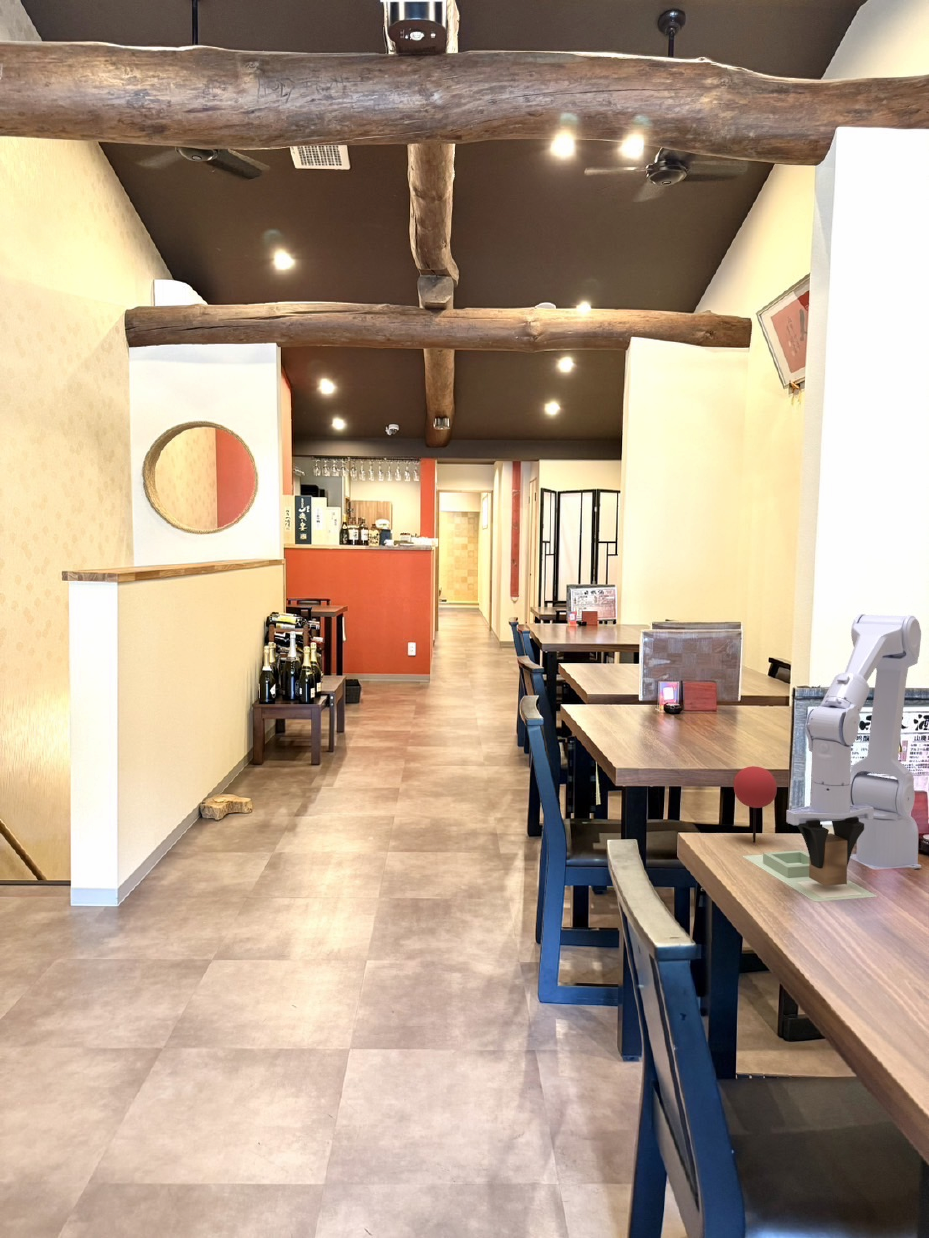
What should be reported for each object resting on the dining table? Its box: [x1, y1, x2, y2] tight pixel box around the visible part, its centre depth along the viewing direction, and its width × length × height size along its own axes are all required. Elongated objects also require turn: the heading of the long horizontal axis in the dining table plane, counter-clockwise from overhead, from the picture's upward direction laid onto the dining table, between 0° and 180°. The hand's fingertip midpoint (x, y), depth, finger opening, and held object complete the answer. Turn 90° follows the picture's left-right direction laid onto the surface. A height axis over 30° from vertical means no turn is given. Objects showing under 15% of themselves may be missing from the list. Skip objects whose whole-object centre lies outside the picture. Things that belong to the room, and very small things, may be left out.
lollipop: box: [733, 765, 778, 844], centre depth 159 cm, size 8×8×15 cm
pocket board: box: [741, 849, 879, 903], centre depth 142 cm, size 11×22×2 cm, turn 11°
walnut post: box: [809, 833, 848, 886], centre depth 136 cm, size 4×4×7 cm
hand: (829, 865), depth 135 cm, fingers closed on walnut post, 4 cm apart
